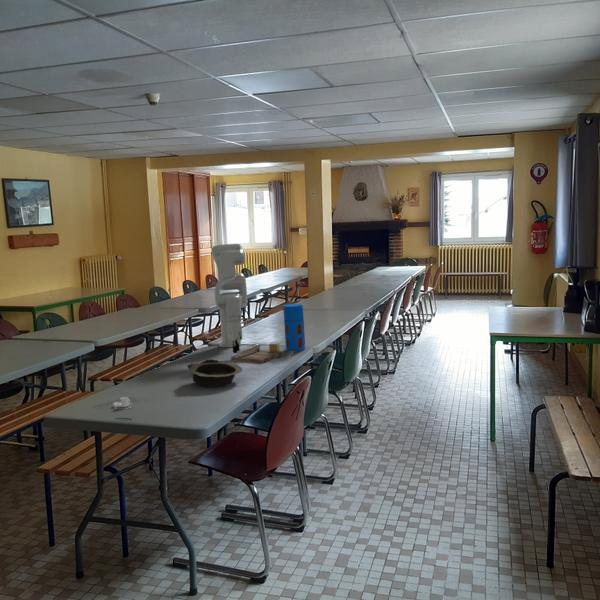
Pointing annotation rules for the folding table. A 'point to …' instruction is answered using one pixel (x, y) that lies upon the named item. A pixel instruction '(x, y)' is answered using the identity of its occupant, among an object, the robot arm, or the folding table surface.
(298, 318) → the thermos
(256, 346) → the lock bar
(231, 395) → the folding table surface
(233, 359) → the plate
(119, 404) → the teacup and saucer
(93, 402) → the folding table surface
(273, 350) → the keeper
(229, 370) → the brown round bowl
